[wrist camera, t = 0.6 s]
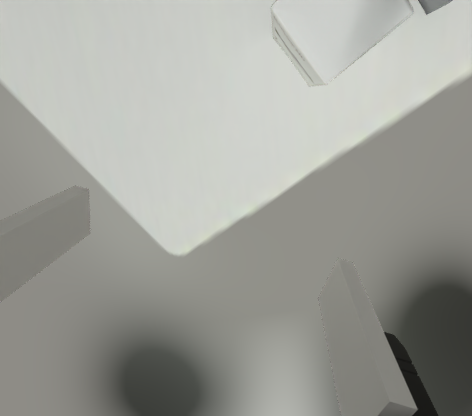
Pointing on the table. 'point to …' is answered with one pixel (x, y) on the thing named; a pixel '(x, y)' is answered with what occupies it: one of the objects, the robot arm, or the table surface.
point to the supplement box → (332, 32)
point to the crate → (433, 4)
